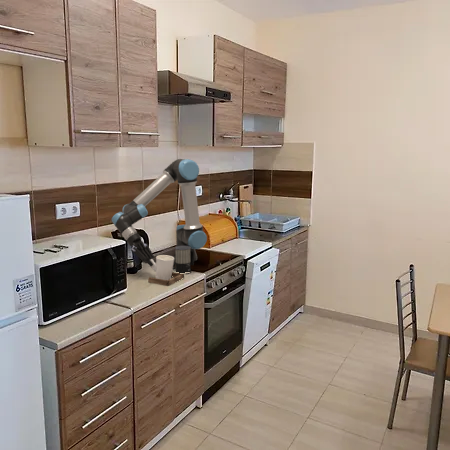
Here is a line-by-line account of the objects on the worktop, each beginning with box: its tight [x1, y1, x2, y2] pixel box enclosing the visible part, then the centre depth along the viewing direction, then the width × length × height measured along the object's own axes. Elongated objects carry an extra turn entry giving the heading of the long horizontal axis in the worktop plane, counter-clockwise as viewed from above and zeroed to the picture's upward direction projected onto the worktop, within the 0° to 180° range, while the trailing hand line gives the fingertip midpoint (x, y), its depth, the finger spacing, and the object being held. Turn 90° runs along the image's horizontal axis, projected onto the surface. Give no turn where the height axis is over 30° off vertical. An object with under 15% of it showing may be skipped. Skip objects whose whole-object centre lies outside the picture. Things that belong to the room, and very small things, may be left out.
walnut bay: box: [147, 271, 185, 287], centre depth 233 cm, size 15×13×2 cm
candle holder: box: [155, 254, 175, 280], centre depth 233 cm, size 10×10×12 cm
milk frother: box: [173, 246, 195, 273], centre depth 251 cm, size 14×16×15 cm
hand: (156, 269), depth 235 cm, fingers closed
